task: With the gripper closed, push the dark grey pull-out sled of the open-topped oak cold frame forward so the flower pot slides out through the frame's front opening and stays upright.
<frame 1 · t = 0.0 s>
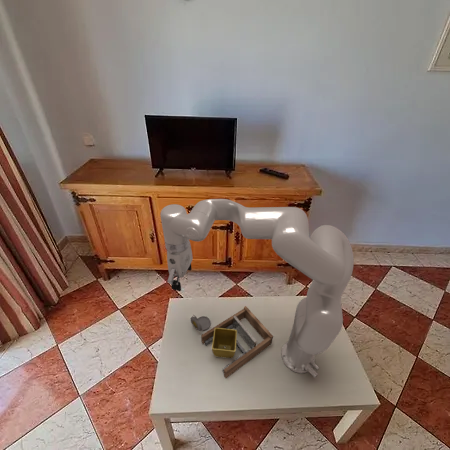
hand: (182, 279, 91), 31 cm above the table, tool pointing down, fingers open, 9 cm apart
cold frame: (236, 343, 105), on the table
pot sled: (229, 342, 101), point 4 cm above the table, slide at 0.0 cm
flower pot: (224, 351, 103), on the table
pocket watch: (200, 326, 111), on the table
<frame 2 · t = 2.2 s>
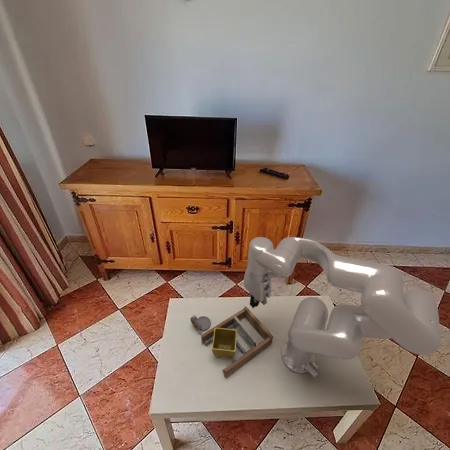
hand: (254, 304, 97), 19 cm above the table, tool pointing down, fingers closed
nothing on the table moved.
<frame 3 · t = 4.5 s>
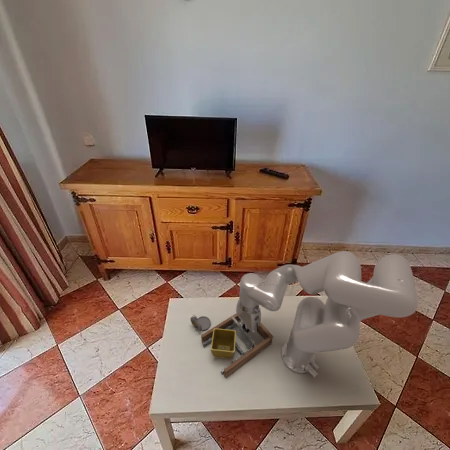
hand: (246, 330, 105), 4 cm above the table, tool pointing down, fingers closed
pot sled: (228, 343, 101), point 4 cm above the table, slide at 0.9 cm, touching flower pot, gripper
flower pot: (223, 352, 102), on the table, touching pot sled
everything else where it was.
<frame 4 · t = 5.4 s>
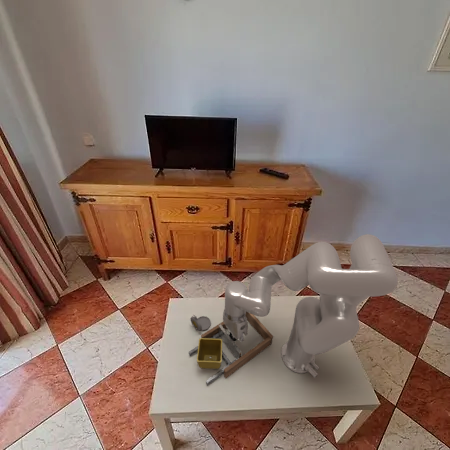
hand: (233, 339, 102), 4 cm above the table, tool pointing down, fingers closed
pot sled: (214, 353, 98), point 4 cm above the table, slide at 7.2 cm, touching flower pot, gripper
flower pot: (210, 362, 99), on the table, touching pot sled
everything else where it was.
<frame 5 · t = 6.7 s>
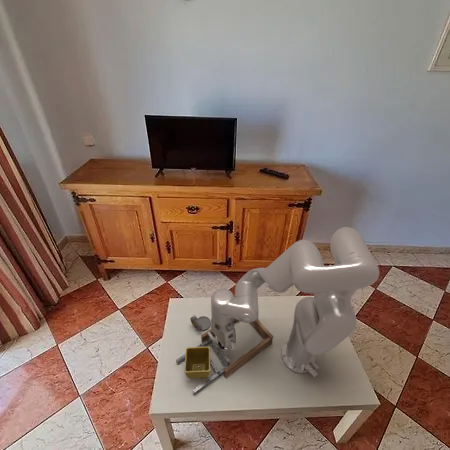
hand: (222, 347, 100), 4 cm above the table, tool pointing down, fingers closed
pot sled: (202, 361, 95), point 4 cm above the table, slide at 12.6 cm, touching flower pot, gripper
flower pot: (199, 371, 96), on the table, touching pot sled
everything else where it was.
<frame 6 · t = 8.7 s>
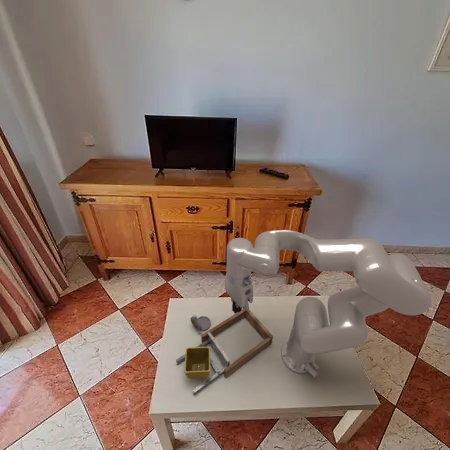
hand: (237, 310, 91), 23 cm above the table, tool pointing down, fingers closed
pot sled: (202, 361, 95), point 4 cm above the table, slide at 12.6 cm
flower pot: (199, 371, 96), on the table
everything else where it was.
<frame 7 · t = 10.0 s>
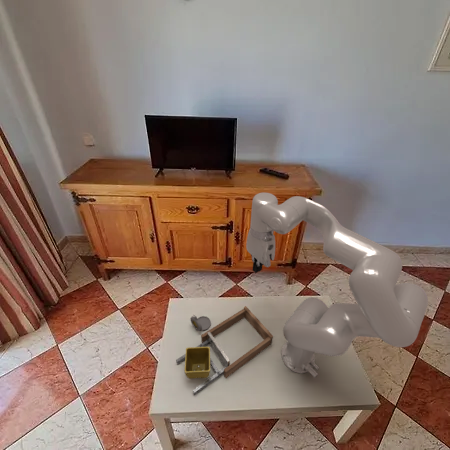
hand: (257, 270, 94), 32 cm above the table, tool pointing down, fingers closed
nothing on the table moved.
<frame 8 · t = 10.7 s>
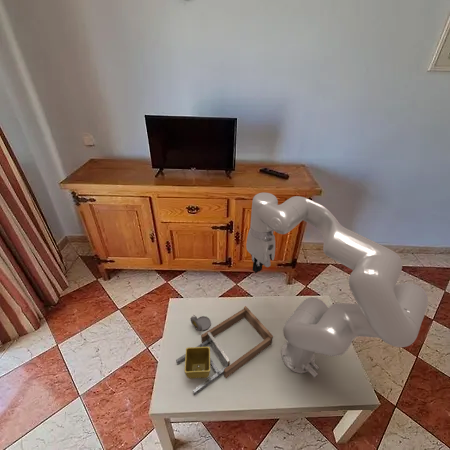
hand: (257, 270, 94), 32 cm above the table, tool pointing down, fingers closed
nothing on the table moved.
at the end: flower pot inside the target area (1.5 cm from its centre), on the table; flower pot tilted 0°; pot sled slide at 12.6 cm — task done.
